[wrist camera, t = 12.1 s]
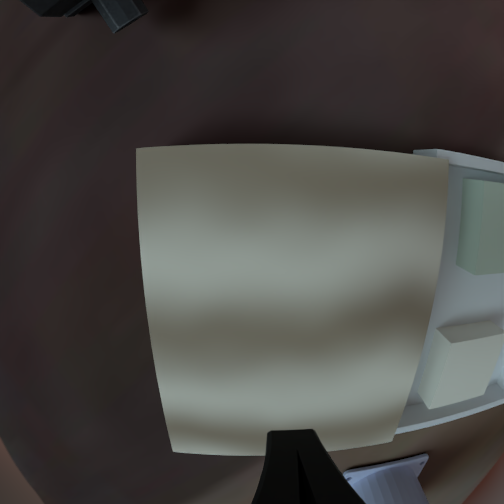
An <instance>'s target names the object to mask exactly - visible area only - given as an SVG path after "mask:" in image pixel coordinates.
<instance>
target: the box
mask: <svg viewBox="0 0 504 504" xmlns="http://www.w3.org/2000/svg"><path fill="white" fill-rule="evenodd" d="M413 154H414V155H421V156H428V157H435V158H441V159H448V160H449V175H448V195H447V209H446V221H445V230H444V239H443V247H442V255H441V262H440V268H439V274H438V280H437V286H436V292H435V297H434V302H433V307H432V312H431V316H430V321H429V325H428V329H427V333H426V338H425V342H424V345H423V349H422V353H421V357H420V360H419V364H418V367H417V371H416V374H415V377H414V381H413V384H412V387H411V390H410V393H409V396H408V399H407V402H406V405H405V408H404V411H403V413H402V416H401V419H400V422H399V424H398V427H397V429H396V432H395V434H399V433H404V432H408V431H413V430H417V429H421V428H426V427H430V426H434V425H437V424H441V423H445V422H448V421H452V420H455V419H459V418H462V417H465V416H468V415H471V414H475V413H478V412H481V411H483V410H486V409H489V408H492V407H495V406H497V405H500V404H503V403H504V343H503V346H502V349H501V352H500V355H499V357H498V360H497V363H496V366H495V368H494V371H493V373H492V376H491V378H490V381H489V383H488V386H487V388H486V390H485V393H484V395H481V396H478V397H474V398H471V399H468V400H464V401H460V402H457V403H453V404H449V405H446V406H442V407H438V408H433V409H428V407H427V406H426V404H425V403H424V401H423V400H422V398H421V397H420V395H419V394H418V392H417V391H418V388H419V385H420V382H421V379H422V376H423V372H424V369H425V366H426V362H427V359H428V355H429V352H430V348H431V344H432V340H433V336H434V332H435V328H441V327H448V326H456V325H463V324H469V323H476V322H482V321H488V320H491V321H492V322H493V323H495V324H496V325H497V326H499V327H500V328H501V329H503V330H504V273H497V274H486V275H473V274H471V273H470V272H468V271H466V270H464V269H462V268H461V267H459V266H457V265H456V258H457V250H458V241H459V231H460V220H461V205H462V183H463V178H466V179H475V180H483V181H491V182H498V183H504V162H500V161H496V160H491V159H487V158H482V157H478V156H473V155H468V154H463V153H458V152H452V151H447V150H441V149H426V150H413Z"/></svg>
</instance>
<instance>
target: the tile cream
mask: <svg viewBox="0 0 504 504" xmlns="http://www.w3.org/2000/svg"><path fill="white" fill-rule="evenodd" d="M503 343H504V330H503V329H501V328H500V327H499V326H497V325H496V324H495V323H493V322H492V321H491V320H488V321H482V322H476V323H469V324H463V325H456V326H448V327H441V328H435V332H434V336H433V340H432V344H431V348H430V352H429V355H428V359H427V362H426V366H425V369H424V372H423V376H422V379H421V382H420V385H419V388H418V391H417V392H418V394H419V395H420V397H421V398H422V400H423V401H424V403H425V404H426V406H427V407H428V409H433V408H438V407H442V406H446V405H449V404H453V403H457V402H460V401H464V400H468V399H471V398H474V397H478V396H481V395H484V393H485V390H486V388H487V386H488V383H489V381H490V378H491V376H492V373H493V371H494V368H495V366H496V363H497V360H498V357H499V355H500V352H501V349H502V346H503Z"/></svg>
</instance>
